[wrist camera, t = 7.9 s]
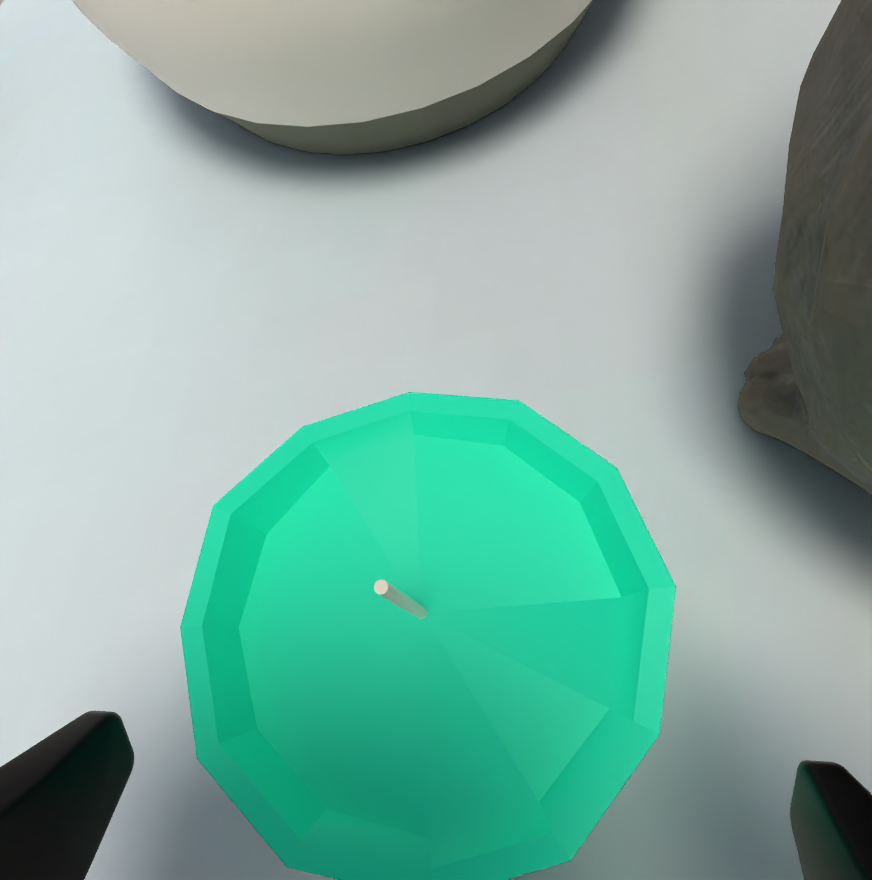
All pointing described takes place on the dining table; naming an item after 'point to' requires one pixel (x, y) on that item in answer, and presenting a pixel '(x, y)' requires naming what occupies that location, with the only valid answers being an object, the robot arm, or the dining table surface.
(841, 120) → the figurine
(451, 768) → the candle
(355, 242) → the dining table surface
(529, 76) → the bowl
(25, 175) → the dining table surface
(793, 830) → the robot arm
